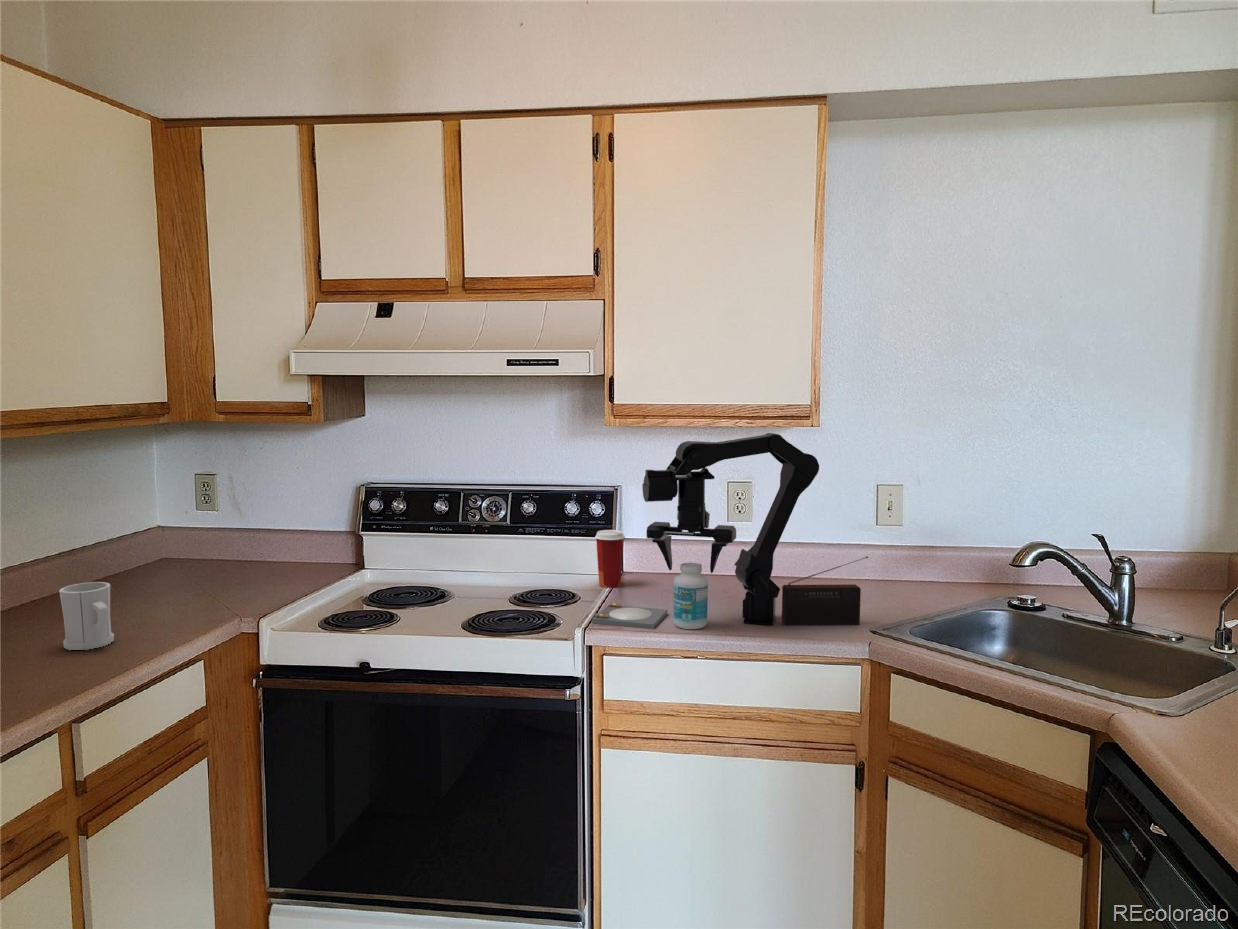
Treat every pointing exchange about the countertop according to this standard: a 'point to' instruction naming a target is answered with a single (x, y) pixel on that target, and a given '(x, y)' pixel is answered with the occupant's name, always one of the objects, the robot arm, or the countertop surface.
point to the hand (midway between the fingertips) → (691, 571)
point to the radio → (821, 604)
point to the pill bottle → (690, 597)
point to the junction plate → (630, 616)
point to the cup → (86, 615)
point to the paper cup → (609, 557)
